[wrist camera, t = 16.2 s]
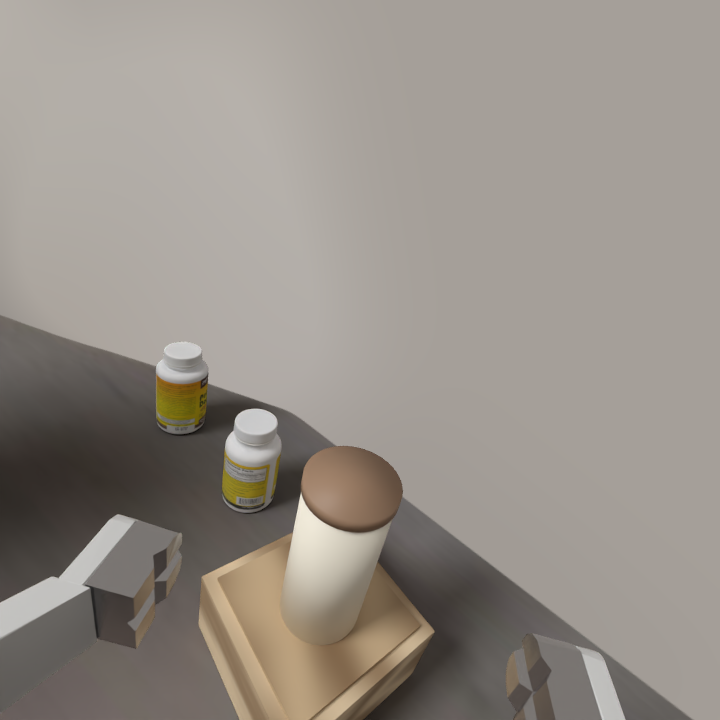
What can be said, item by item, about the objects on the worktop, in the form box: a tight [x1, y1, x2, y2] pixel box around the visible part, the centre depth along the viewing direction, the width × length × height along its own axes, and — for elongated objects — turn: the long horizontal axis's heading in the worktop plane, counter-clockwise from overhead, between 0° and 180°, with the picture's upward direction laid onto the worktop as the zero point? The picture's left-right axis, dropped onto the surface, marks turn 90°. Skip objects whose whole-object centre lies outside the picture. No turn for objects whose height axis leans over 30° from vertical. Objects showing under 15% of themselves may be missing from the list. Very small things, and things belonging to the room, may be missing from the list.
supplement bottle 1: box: [156, 342, 208, 434], centre depth 49 cm, size 6×6×10 cm
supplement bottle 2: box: [222, 409, 282, 513], centre depth 42 cm, size 5×5×10 cm
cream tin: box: [280, 446, 403, 645], centre depth 27 cm, size 6×6×12 cm
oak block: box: [199, 533, 435, 720], centre depth 31 cm, size 12×12×6 cm
